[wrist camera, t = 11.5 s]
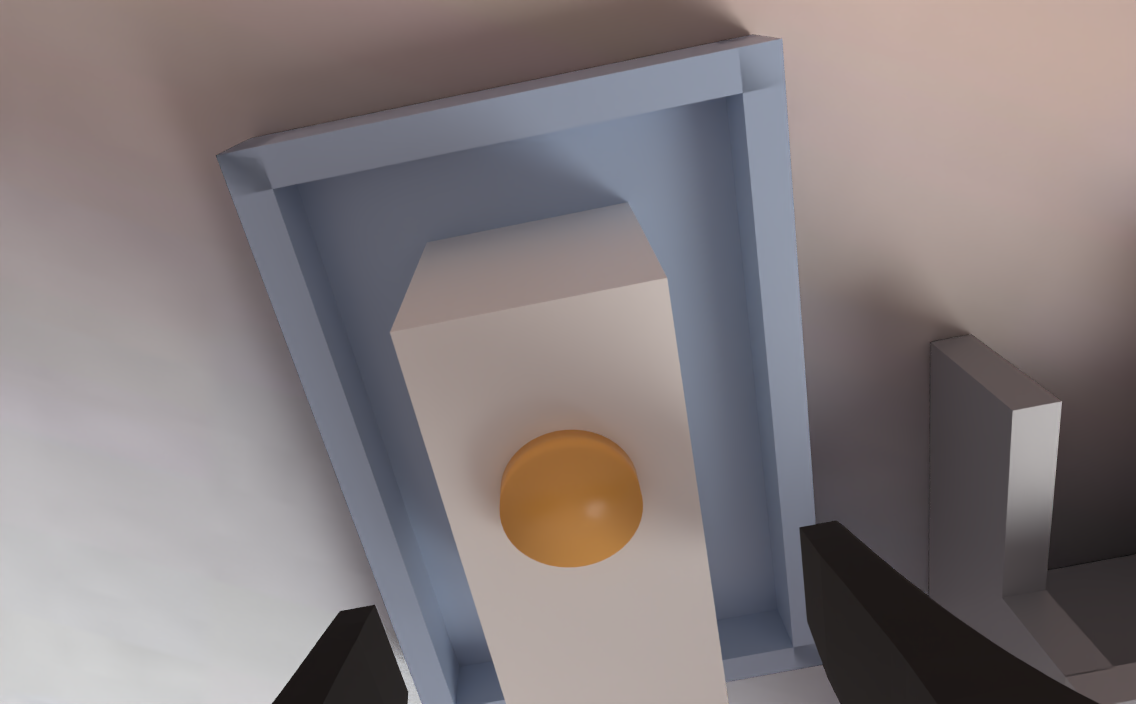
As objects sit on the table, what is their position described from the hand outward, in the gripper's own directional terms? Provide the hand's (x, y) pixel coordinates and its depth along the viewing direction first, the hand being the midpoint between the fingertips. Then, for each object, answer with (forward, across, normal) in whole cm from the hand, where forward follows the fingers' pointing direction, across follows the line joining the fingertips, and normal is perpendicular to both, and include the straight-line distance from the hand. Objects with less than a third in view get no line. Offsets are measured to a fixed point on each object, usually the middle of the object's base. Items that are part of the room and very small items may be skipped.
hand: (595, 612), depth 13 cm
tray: (+7, 0, 0) cm, 7 cm away
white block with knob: (+6, 0, 0) cm, 6 cm away
